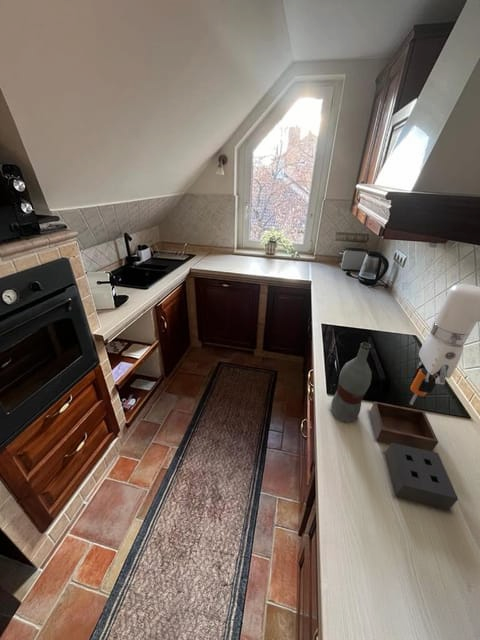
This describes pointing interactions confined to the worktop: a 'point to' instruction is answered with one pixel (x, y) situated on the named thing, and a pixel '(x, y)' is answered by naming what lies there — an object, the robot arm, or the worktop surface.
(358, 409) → the bottle
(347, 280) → the worktop surface
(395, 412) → the tool tray
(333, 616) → the worktop surface
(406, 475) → the holder
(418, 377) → the screwdriver
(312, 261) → the worktop surface
